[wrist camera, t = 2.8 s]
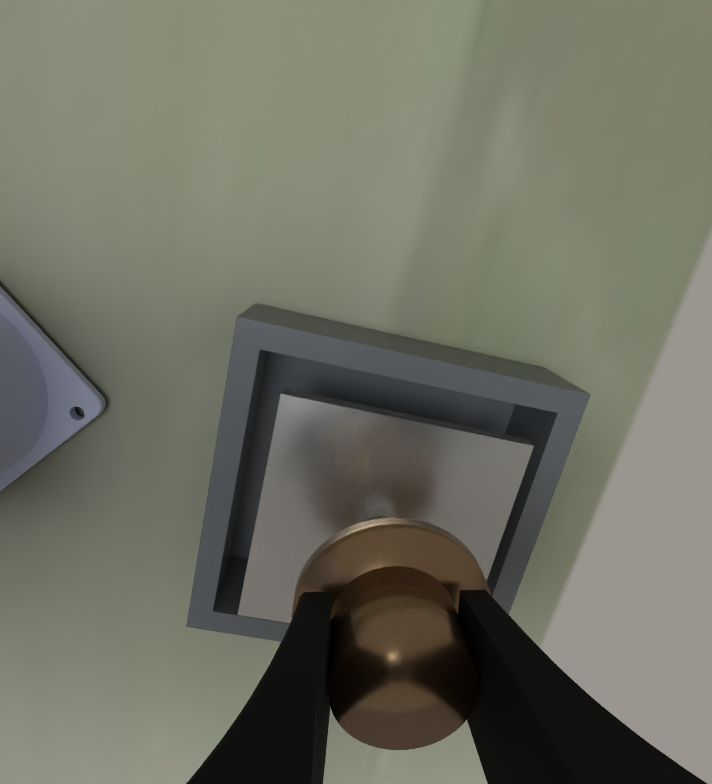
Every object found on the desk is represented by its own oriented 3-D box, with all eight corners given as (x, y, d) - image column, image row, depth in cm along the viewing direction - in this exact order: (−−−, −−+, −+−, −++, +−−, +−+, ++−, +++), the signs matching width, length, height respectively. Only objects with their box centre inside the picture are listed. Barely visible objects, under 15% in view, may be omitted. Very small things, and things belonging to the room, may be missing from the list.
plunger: (458, 637, 17) (523, 846, 11) (240, 601, 17) (187, 806, 10) (526, 438, 15) (651, 563, 9) (282, 387, 15) (245, 489, 8)
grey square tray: (463, 607, 22) (486, 673, 18) (210, 564, 21) (186, 626, 17) (544, 367, 19) (590, 394, 15) (255, 303, 18) (236, 316, 14)
